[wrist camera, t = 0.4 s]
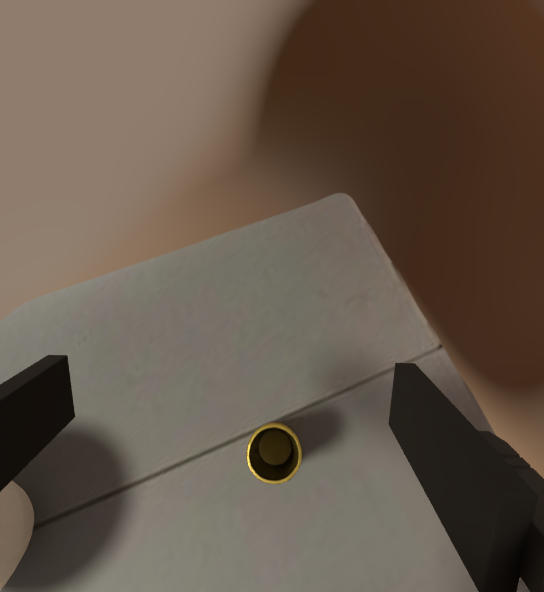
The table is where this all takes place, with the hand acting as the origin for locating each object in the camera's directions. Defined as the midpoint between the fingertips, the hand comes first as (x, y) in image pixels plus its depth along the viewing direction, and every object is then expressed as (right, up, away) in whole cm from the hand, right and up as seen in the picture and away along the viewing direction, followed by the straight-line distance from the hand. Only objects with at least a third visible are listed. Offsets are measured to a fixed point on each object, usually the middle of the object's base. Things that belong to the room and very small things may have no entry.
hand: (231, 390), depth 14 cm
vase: (+2, -16, +32) cm, 36 cm away
